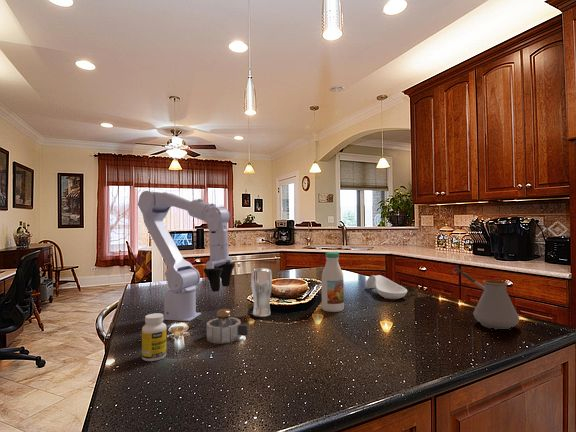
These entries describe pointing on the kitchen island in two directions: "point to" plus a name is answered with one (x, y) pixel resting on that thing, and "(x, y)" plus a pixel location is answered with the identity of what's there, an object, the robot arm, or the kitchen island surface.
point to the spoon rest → (386, 287)
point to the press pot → (225, 330)
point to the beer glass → (261, 291)
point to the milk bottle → (332, 284)
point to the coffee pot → (494, 305)
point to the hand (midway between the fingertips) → (220, 288)
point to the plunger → (223, 315)
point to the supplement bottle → (154, 338)
